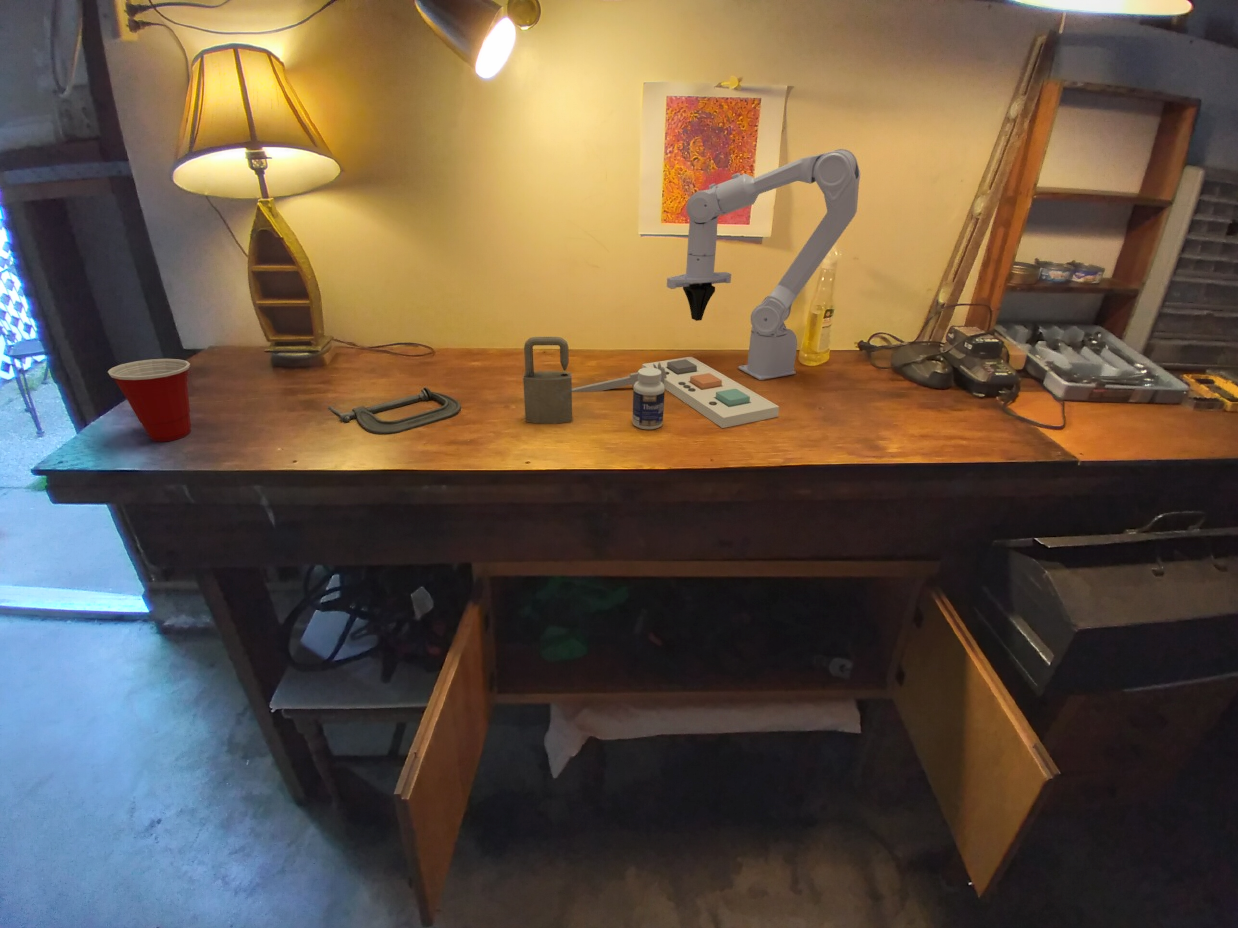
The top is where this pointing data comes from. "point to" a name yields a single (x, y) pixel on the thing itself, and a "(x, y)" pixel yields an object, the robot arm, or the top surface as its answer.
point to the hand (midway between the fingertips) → (696, 319)
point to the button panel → (707, 398)
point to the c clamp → (404, 424)
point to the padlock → (547, 386)
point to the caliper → (617, 382)
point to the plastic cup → (157, 395)
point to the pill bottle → (648, 399)
